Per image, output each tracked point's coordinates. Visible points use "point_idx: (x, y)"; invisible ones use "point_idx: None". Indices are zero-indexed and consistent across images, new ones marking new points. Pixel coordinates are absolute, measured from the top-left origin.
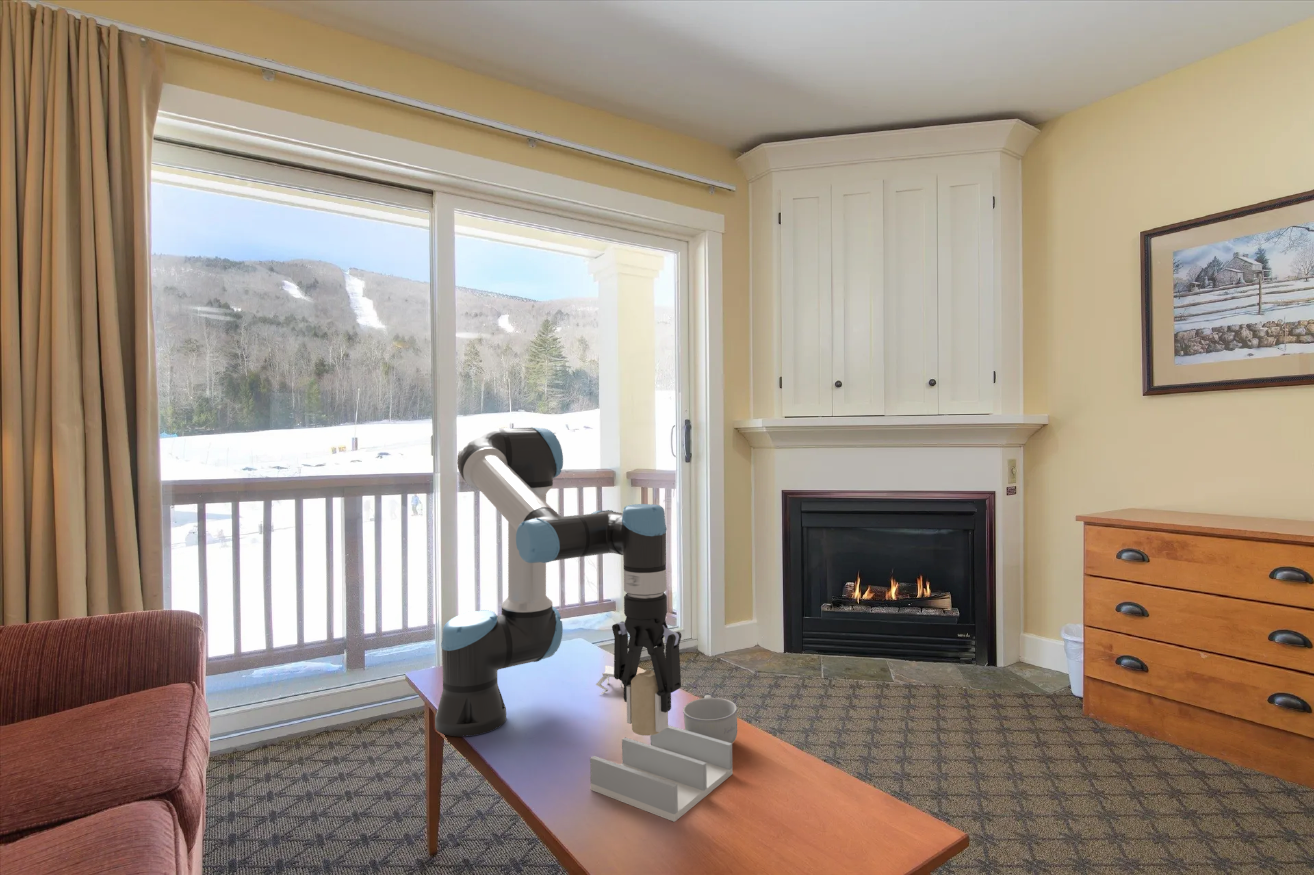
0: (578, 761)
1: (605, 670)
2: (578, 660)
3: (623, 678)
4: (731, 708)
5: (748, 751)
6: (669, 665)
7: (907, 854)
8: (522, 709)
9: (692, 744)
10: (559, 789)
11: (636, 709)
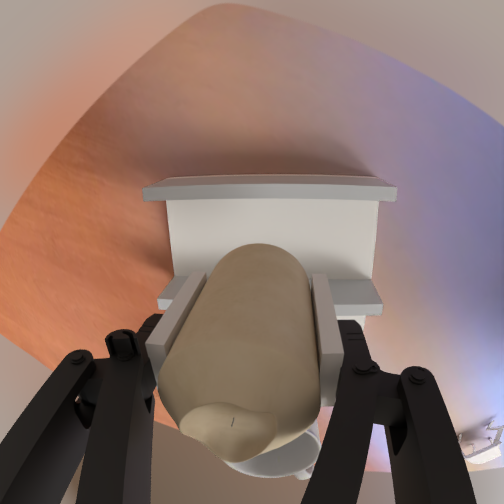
0: (454, 252)
1: (499, 449)
2: None
3: (371, 379)
4: (248, 465)
5: None
6: (19, 434)
7: None
8: None
9: None
10: (426, 147)
11: (254, 277)
